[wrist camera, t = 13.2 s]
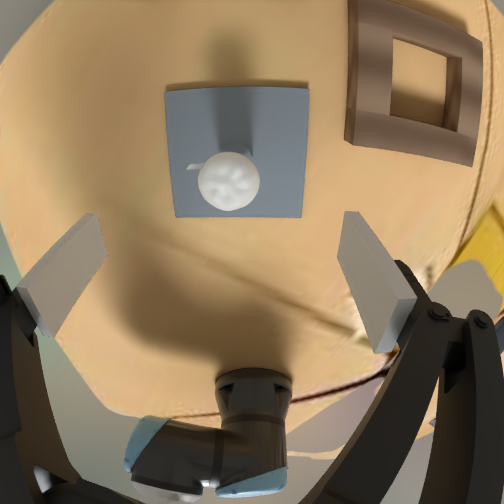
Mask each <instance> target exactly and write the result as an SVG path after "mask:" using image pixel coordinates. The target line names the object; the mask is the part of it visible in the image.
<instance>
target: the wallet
mask: <svg viewBox="0 0 504 504" xmlns="http://www.w3.org/2000/svg"><path fill="white" fill-rule="evenodd" d="M495 331H496V335H497V340H498V345H499V350H500V354H501V353H502V352H503V351H504V317H502V318H501V319H500V320H499V321H498V323H497V324H496V325H495Z"/></svg>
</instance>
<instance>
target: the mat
mask: <svg viewBox="0 0 504 504" xmlns="http://www.w3.org/2000/svg"><path fill="white" fill-rule="evenodd" d="M164 94H165V113H166V129H167V142H168V154H169V164H170V174H171V184H172V192H173V201H174V209H175V216H176V218H180V217H272V218H301V217H302V205H303V193H304V181H305V167H306V152H307V135H308V115H309V89H303V88H288V87H258V86H244V87H213V88H198V89H187V90H177V91H168V92H164ZM230 142H242V143H243V144H245V145H246V146H248V147H249V148H250V151H251V154H252V157H253V161H254V163H255V166H256V168H257V170H258V173H259V178H260V184H259V189H258V192H257V194H256V196H255V197H254V199H253V200H252V201H251V202H250V203H249V204H248V205H246V206H245V207H242V208H239V209H236V210H232V211H224V210H220V209H218V208H216V207H214V206H213V205H211V204H210V203H209V202H207V201H206V200H205V199H204V197H203V196H202V194H201V192H200V189H199V186H198V176H199V172H200V170H201V168H200V169H189V170H186V168H187V167H188V165H189V164H199V163H205V162H206V161H207V160H208V159H209V158H210V157H212V156H213V155H215V154H216V153H217V152H218V151H219V150H220V149H222V148H223V147H224V146H226V145H227V144H228V143H230Z"/></svg>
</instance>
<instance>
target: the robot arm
mask: <svg viewBox="0 0 504 504" xmlns="http://www.w3.org/2000/svg"><path fill="white" fill-rule="evenodd" d="M107 256H108V253H107V250H106V246H105V243H104V239H103V235H102V231H101V228H100V224H99V219H98V215H97V213H87V214H85V215H84V216H83V217H82V218H81V219H80V220H79V221H78V222H77V223H76V224H74V225H73V226H72V227H71V228H70V229H69V230H68V231H67V232H66V233H65V234H64V235H63V236H62V237H61V238H60V239H59V240H58V241H57V242H56V243H55V244H54V245H53V246H52V247H51V248H50V249H49V250H48V251H47V252H46V253H45V254H44V255H43V257H42V258H41V259H40V260H39V261H38V262H37V263H36V264H35V265H34V266H33V267H32V269H31V270H30V271H29V272H28V273H27V274H26V275H25V277H24V278H23V279H22V280H21V282H20V283H19V284H18V285H17V286H16V288H15V289H14V290H13V291H11V289H10V287H9V285H8V283H7V281H6V279H5V277H4V276H3V275H0V504H192V503H193V502H195V501H196V500H198V499H199V498H201V497H202V492H203V488H204V487H205V488H213V489H216V490H215V492H216V494H217V496H219V497H250V496H259V495H266V494H272V493H275V492H279V491H281V490H283V489H284V488H285V486H286V484H287V469H288V466H287V451H286V433H285V418H286V415H287V412H288V408H289V405H290V402H291V398H292V384H291V381H290V380H289V379H288V378H287V377H286V376H284V375H283V374H281V373H278V372H275V371H271V370H266V369H240V370H235V371H231V372H228V373H226V374H224V375H222V376H221V377H220V378H219V379H218V380H217V382H216V387H215V397H216V401H217V404H218V408H219V411H220V415H221V419H222V424H221V429H218V428H212V427H205V426H199V425H194V424H189V423H184V422H180V421H175V420H171V418H161V417H156V416H151V415H148V416H145V417H143V418H141V419H140V420H139V422H138V423H137V425H136V426H135V428H134V430H133V433H132V435H131V437H130V440H129V442H128V446H127V448H126V452H125V459H124V469H125V470H127V471H128V472H129V473H132V477H131V483H132V484H133V486H134V487H135V488H136V489H137V491H138V500H136V499H133V498H131V497H128V496H125V495H123V494H120V493H118V492H116V491H113V490H111V489H109V488H106V487H103V486H100V485H97V484H95V483H92V482H89V481H87V480H84V479H82V478H81V476H80V475H79V473H78V472H77V471H76V470H75V469H74V468H73V466H72V465H71V463H70V462H69V460H68V457H67V455H66V452H65V449H64V447H63V444H62V441H61V438H60V435H59V432H58V430H57V426H56V423H55V419H54V416H53V413H52V409H51V406H50V402H49V398H48V394H47V389H46V385H45V380H44V375H43V371H42V365H41V359H40V353H39V347H38V339H37V335H36V333H35V332H34V330H35V328H36V326H37V327H38V328H39V330H40V331H41V333H42V335H44V336H48V337H52V338H54V337H55V336H56V334H57V332H58V330H59V329H60V327H61V325H62V324H63V322H64V320H65V319H66V317H67V315H68V314H69V312H70V311H71V309H72V307H73V306H74V304H75V303H76V301H77V300H78V298H79V297H80V295H81V293H82V292H83V290H84V289H85V287H86V286H87V284H88V283H89V282H90V280H91V279H92V277H93V276H94V274H95V273H96V271H97V270H98V269H99V267H100V266H101V264H102V263H103V262H104V260H105V259H106V257H107ZM337 259H338V261H339V264H340V266H341V268H342V271H343V273H344V275H345V278H346V280H347V283H348V285H349V288H350V290H351V293H352V295H353V298H354V300H355V303H356V306H357V308H358V311H359V313H360V316H361V319H362V321H363V324H364V327H365V330H366V332H367V335H368V338H369V341H370V344H371V346H372V349H373V352H374V354H378V353H386V352H391V351H392V350H393V348H394V346H395V344H396V342H397V343H398V345H399V348H400V351H399V352H398V354H397V356H396V358H395V359H394V361H393V363H392V364H391V368H390V370H389V372H388V374H387V376H386V378H385V380H384V382H383V384H382V386H381V388H380V390H379V391H378V393H377V395H376V397H375V399H374V401H373V402H372V404H371V406H370V407H369V409H368V411H367V412H366V414H365V416H364V417H363V419H362V421H361V422H360V424H359V425H358V427H357V429H356V430H355V432H354V433H353V435H352V436H351V438H350V439H349V441H348V442H347V443H346V445H345V446H344V448H343V449H342V451H341V452H340V453H339V455H338V456H337V458H336V459H335V460H334V462H333V463H332V464H331V466H330V467H329V468H328V470H327V471H326V472H325V474H324V475H323V476H322V477H321V479H320V480H319V481H318V482H317V483H316V485H315V486H314V487H313V488H312V489H311V490H310V492H309V493H308V494H307V495H306V496H305V497H304V498H303V499H302V500H301V501H300V502H299V503H298V504H380V502H381V501H382V499H383V498H384V496H385V494H386V493H387V491H388V489H389V488H390V486H391V484H392V483H393V481H394V479H395V477H396V476H397V474H398V472H399V470H400V468H401V466H402V465H403V463H404V461H405V459H406V457H407V455H408V453H409V451H410V449H411V447H412V444H413V442H414V440H415V438H416V436H417V433H418V431H419V429H420V426H421V424H422V422H423V419H424V417H425V414H426V411H427V409H428V406H429V403H430V401H431V398H432V395H433V392H434V389H435V386H436V383H437V380H438V377H439V386H438V401H437V412H436V421H435V429H434V436H433V443H432V449H431V454H430V459H429V464H428V469H427V474H426V478H425V482H424V486H423V490H422V493H421V497H420V500H419V504H501V499H502V493H503V486H504V375H503V368H502V362H501V356H500V350H499V345H498V340H497V335H496V331H495V326H494V323H493V321H492V319H491V318H490V317H489V315H488V314H486V313H485V312H483V311H480V310H472V311H470V313H469V314H468V316H467V317H466V319H462V318H457V317H452V315H451V313H450V311H449V310H448V309H447V308H446V307H445V306H443V305H441V304H439V303H436V302H432V301H431V300H430V298H429V297H428V295H427V294H426V292H425V291H424V289H423V287H422V286H421V284H420V283H419V282H418V280H417V278H416V277H415V276H414V274H413V273H412V271H411V270H410V268H409V267H408V266H407V265H406V264H404V263H403V262H402V261H401V260H393V259H392V257H391V256H390V254H389V253H388V251H387V250H386V249H385V247H384V246H383V244H382V243H381V241H380V240H379V239H378V237H377V236H376V234H375V233H374V232H373V230H372V229H371V228H370V226H369V225H368V224H367V222H366V221H365V220H364V218H363V217H362V216H361V214H360V213H359V212H352V211H345V213H344V220H343V226H342V232H341V238H340V243H339V249H338V254H337ZM41 491H42V492H43V493H42V492H41Z"/></svg>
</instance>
